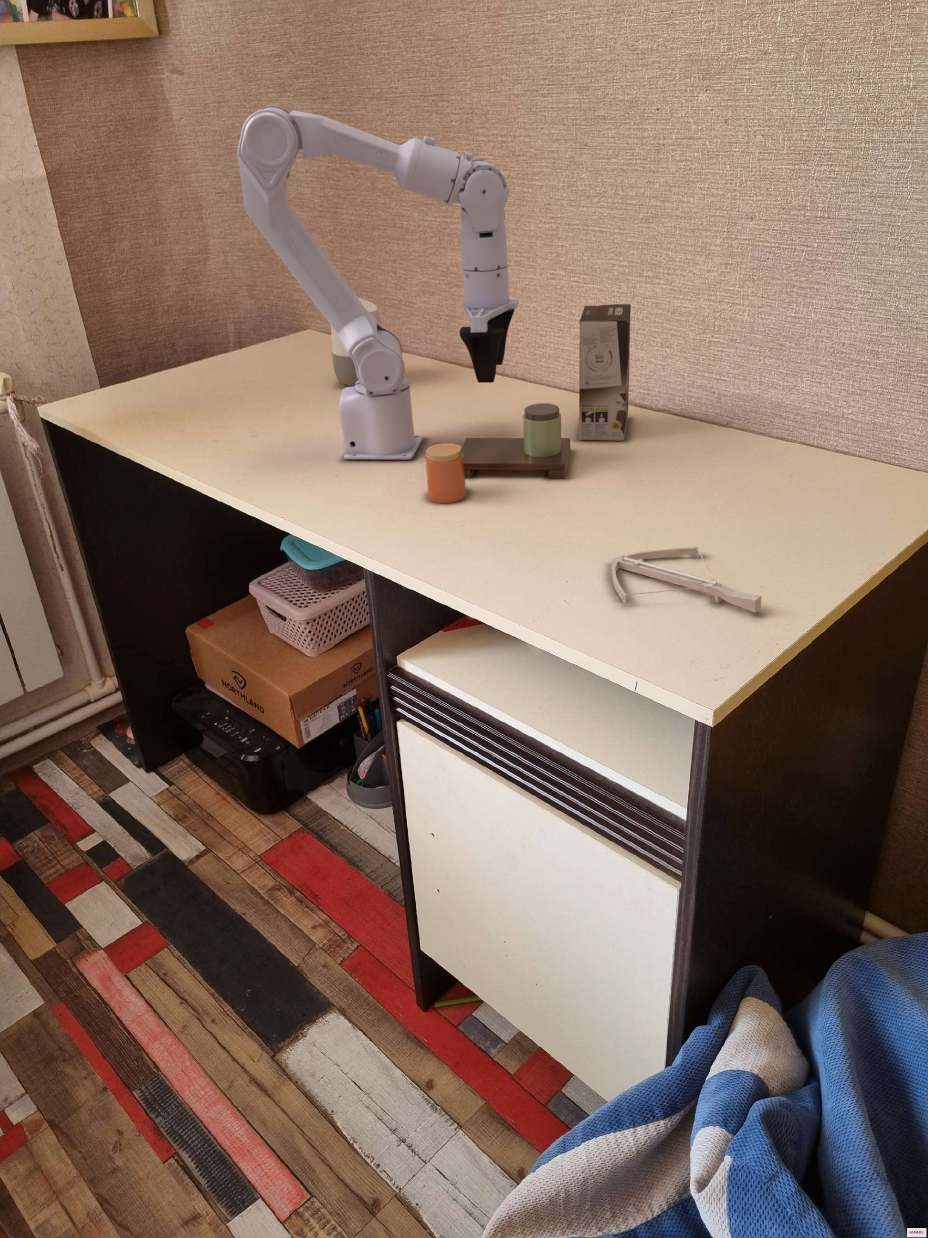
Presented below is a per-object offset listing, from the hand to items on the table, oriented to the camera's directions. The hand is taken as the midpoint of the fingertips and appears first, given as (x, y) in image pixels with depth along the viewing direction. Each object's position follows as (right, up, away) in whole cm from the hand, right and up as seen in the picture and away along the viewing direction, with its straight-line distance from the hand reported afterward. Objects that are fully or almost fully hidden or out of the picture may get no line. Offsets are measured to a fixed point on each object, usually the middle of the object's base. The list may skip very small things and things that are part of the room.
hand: (490, 372), depth 127 cm
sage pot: (+7, -11, -5) cm, 14 cm away
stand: (+3, -13, -3) cm, 14 cm away
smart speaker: (-20, +6, +31) cm, 38 cm away
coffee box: (+16, -7, +6) cm, 18 cm away
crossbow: (+18, -30, -33) cm, 48 cm away
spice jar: (-6, -18, -10) cm, 21 cm away
